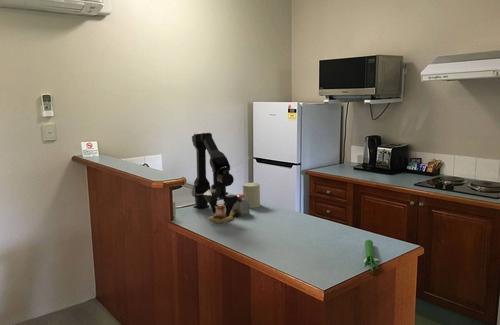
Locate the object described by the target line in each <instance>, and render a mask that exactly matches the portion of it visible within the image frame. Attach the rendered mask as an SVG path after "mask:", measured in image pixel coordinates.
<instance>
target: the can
mask: <svg viewBox="0 0 500 325" xmlns="http://www.w3.org/2000/svg"><path fill="white" fill-rule="evenodd" d="M260 186H261V184H260V183H258V182H247V183H243V184H242V195H245V197H244V198H243V199H248V200H249V209H254V208H256V209H257V208H258V207H261V188H260Z"/></svg>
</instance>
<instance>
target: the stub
mask: <svg viewBox="0 0 500 325" xmlns="http://www.w3.org/2000/svg"><path fill="white" fill-rule="evenodd" d="M215 208H216V212H215V215H216V218H217V219H223V218H226V213H225V212H226V206H225V205H224V204H223V203H222V204H221V203H219V204H218V203H217V205H215Z"/></svg>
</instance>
